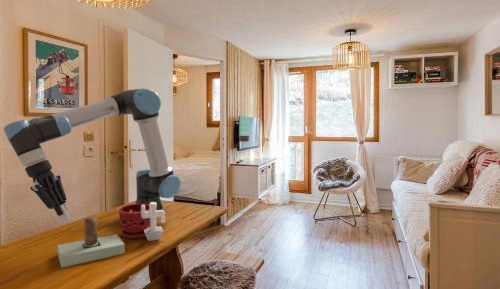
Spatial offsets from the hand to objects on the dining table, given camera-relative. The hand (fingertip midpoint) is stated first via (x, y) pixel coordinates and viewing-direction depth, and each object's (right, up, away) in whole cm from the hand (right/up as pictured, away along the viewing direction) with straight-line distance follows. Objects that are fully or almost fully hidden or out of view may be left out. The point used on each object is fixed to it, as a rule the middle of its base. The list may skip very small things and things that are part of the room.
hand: (67, 221), depth 114 cm
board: (+9, -12, -1) cm, 15 cm away
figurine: (+27, -11, +15) cm, 33 cm away
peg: (+9, -12, -1) cm, 15 cm away
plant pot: (+18, -11, +19) cm, 28 cm away
